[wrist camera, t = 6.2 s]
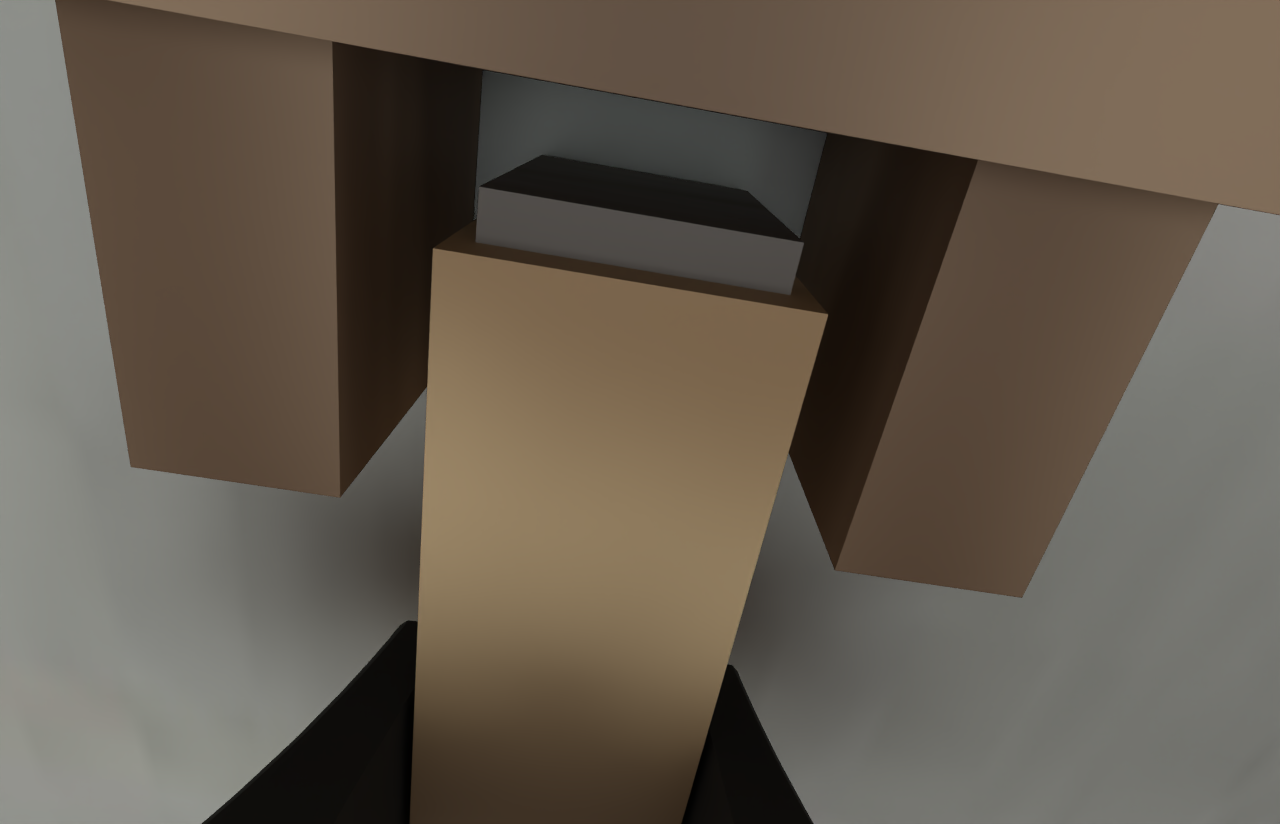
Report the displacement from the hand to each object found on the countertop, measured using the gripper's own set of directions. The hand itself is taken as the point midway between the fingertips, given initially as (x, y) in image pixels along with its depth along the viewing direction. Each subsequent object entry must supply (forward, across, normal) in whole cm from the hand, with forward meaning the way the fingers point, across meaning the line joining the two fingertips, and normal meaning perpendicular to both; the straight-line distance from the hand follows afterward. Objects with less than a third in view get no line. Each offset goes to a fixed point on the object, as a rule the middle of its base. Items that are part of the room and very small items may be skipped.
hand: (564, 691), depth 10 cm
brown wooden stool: (+3, 0, -6) cm, 7 cm away
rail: (+3, 0, 0) cm, 3 cm away
